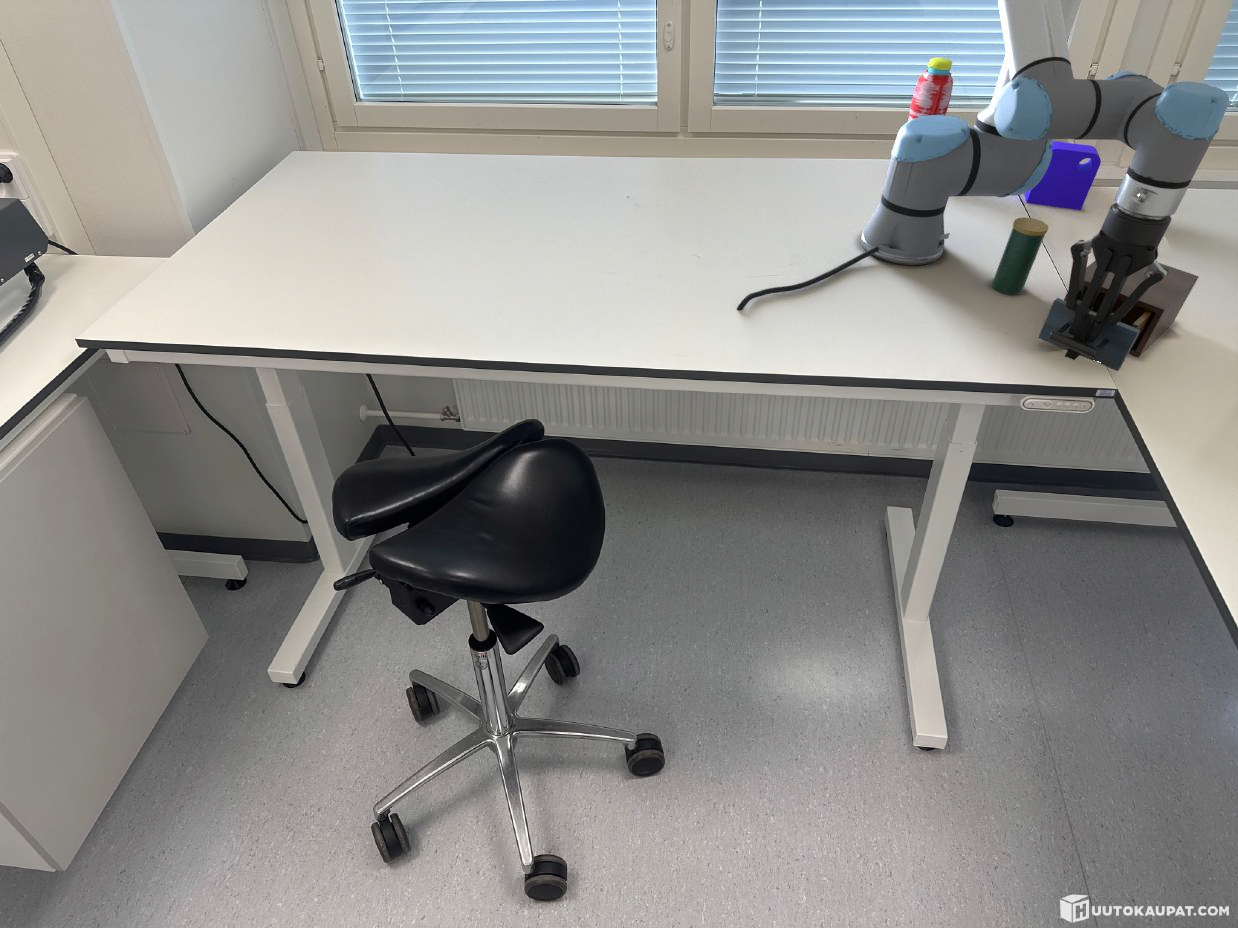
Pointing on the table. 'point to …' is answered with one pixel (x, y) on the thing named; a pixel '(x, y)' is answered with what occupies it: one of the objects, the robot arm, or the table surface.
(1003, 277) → the tea tin
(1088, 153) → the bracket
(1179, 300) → the cabinet
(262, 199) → the table surface
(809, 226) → the table surface
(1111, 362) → the drawer
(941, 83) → the water bottle
